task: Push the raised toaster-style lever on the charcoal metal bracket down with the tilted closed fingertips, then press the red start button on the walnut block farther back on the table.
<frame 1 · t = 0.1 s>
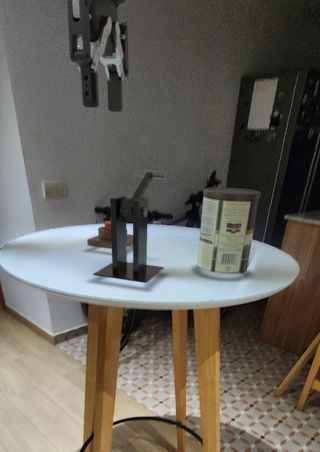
hand: (103, 109, 56), 24 cm above the table, tool pointing down, fingers open, 8 cm apart
button: (112, 226, 83), point 4 cm above the table, slide at 0.1 cm
bracket: (129, 276, 68), on the table
coffee can: (220, 271, 74), on the table
lever: (139, 193, 64), point 13 cm above the table, hinge at 25.0°
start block: (113, 247, 85), on the table
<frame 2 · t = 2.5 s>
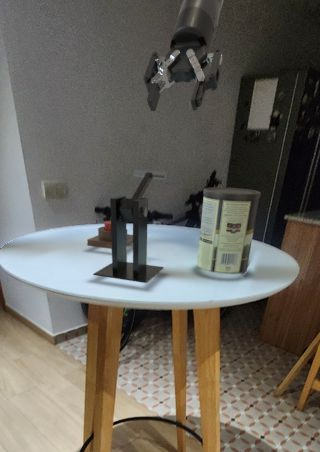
hand: (172, 106, 68), 26 cm above the table, tool tilted 40°, fingers open, 8 cm apart
nothing on the table moved.
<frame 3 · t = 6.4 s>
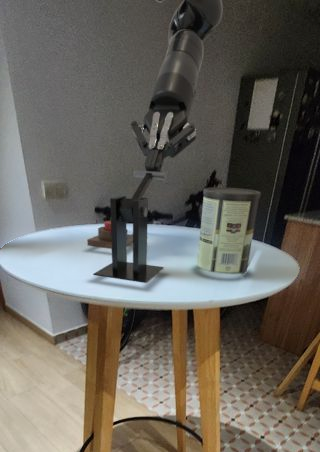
hand: (151, 172, 67), 16 cm above the table, tool tilted 45°, fingers closed
lever: (139, 193, 64), point 13 cm above the table, hinge at 24.6°, touching gripper
everything else where it was.
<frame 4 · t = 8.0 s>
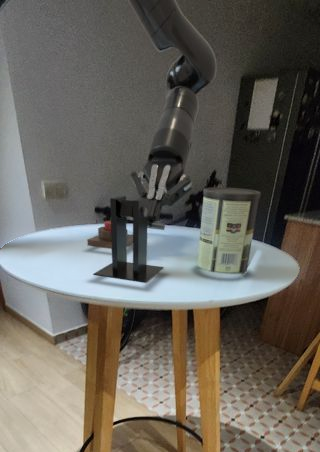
hand: (150, 220, 71), 8 cm above the table, tool tilted 45°, fingers closed
lever: (139, 217, 66), point 9 cm above the table, hinge at -20.0°
everything else where it was.
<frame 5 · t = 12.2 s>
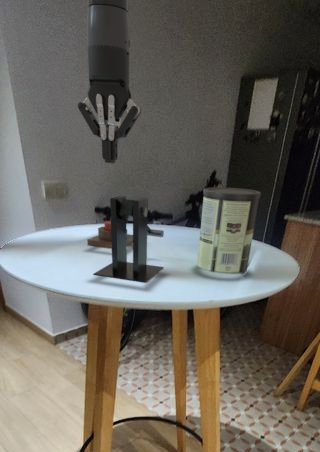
hand: (110, 162, 76), 16 cm above the table, tool pointing down, fingers closed
lever: (139, 221, 66), point 9 cm above the table, hinge at -27.0°
everything else where it was.
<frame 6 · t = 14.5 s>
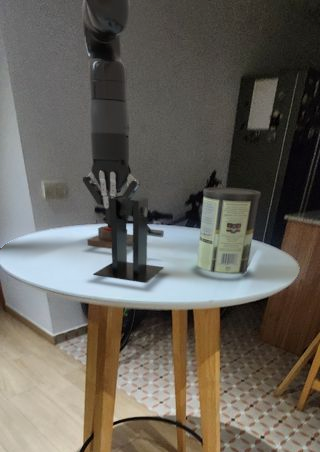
hand: (112, 226, 83), 4 cm above the table, tool pointing down, fingers closed
button: (112, 231, 83), point 4 cm above the table, slide at -0.8 cm, touching gripper
everything else where it was.
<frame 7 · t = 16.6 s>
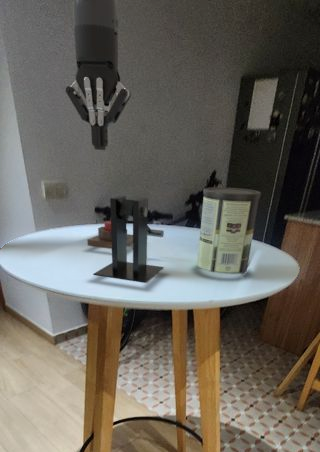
hand: (100, 149, 74), 19 cm above the table, tool pointing down, fingers closed
button: (112, 226, 83), point 4 cm above the table, slide at 0.1 cm
everything else where it was.
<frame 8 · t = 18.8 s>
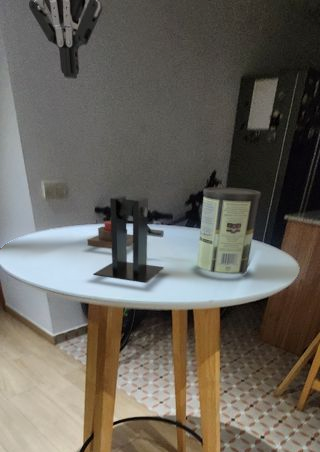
hand: (70, 77, 65), 29 cm above the table, tool pointing down, fingers closed
nothing on the table moved.
at the end: lever at -27° (first picture: +25°); button pushed in 1.1 cm at the most during the clip, back to where it started at the end; button slide at 0.1 cm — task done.
